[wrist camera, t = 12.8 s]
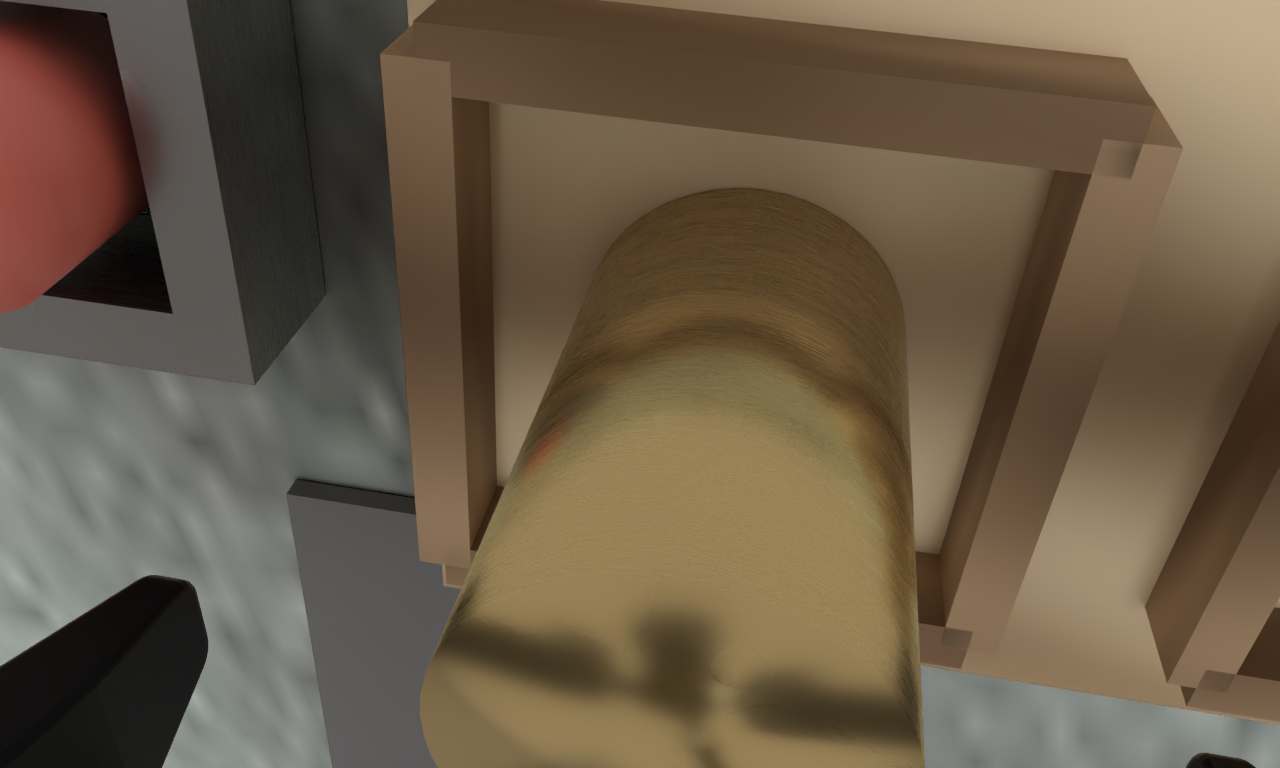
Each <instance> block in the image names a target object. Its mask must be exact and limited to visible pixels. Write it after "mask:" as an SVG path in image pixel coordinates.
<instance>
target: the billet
mask: <svg viewBox="0 0 1280 768" xmlns="http://www.w3.org/2000/svg"><path fill="white" fill-rule="evenodd" d="M420 718H421V724H422V729H423V735H424V738H425V741H426V743H427V746H428V749H429V752H430V754H431V757H432V758H433V760H434V762H435V764H436V766H437V768H925V765H924V742H923V718H922V695H921V672H920V649H919V625H918V602H917V579H916V556H915V532H914V509H913V486H912V463H911V439H910V416H909V393H908V370H907V346H906V323H905V316H904V310H903V304H902V301H901V297H900V294H899V291H898V288H897V285H896V283H895V281H894V279H893V277H892V275H891V273H890V271H889V269H888V267H887V266H886V265H885V263H884V262H883V260H882V259H881V257H880V256H879V254H878V253H877V251H876V250H875V249H874V248H873V247H872V246H871V245H870V244H869V243H868V242H867V241H866V240H865V238H864V237H863V236H862V235H860V234H859V233H858V232H857V231H856V230H854V229H853V228H852V227H851V226H850V225H848V224H847V223H846V222H844V221H843V220H841V219H840V218H838V217H837V216H835V215H833V214H832V213H830V212H829V211H827V210H825V209H823V208H821V207H818V206H816V205H814V204H812V203H810V202H808V201H805V200H802V199H799V198H796V197H793V196H790V195H787V194H782V193H777V192H772V191H767V190H761V189H748V188H729V189H715V190H709V191H703V192H697V193H694V194H690V195H687V196H684V197H680V198H677V199H674V200H672V201H670V202H668V203H665V204H663V205H661V206H659V207H657V208H655V209H653V210H652V211H650V212H649V213H647V214H645V215H644V216H642V217H641V218H639V219H638V220H637V221H635V222H634V223H633V224H632V225H631V226H629V227H628V228H627V229H626V230H625V231H624V232H623V233H622V234H621V235H620V236H619V237H618V238H617V239H616V241H615V242H614V243H613V244H612V245H611V247H610V248H609V250H608V251H607V253H606V254H605V256H604V257H603V259H602V260H601V262H600V264H599V267H598V269H597V271H596V273H595V275H594V278H593V280H592V282H591V285H590V287H589V289H588V292H587V294H586V297H585V299H584V301H583V304H582V306H581V308H580V311H579V313H578V315H577V318H576V320H575V322H574V325H573V327H572V329H571V332H570V334H569V337H568V339H567V341H566V344H565V346H564V348H563V351H562V353H561V355H560V358H559V360H558V362H557V365H556V367H555V369H554V372H553V374H552V377H551V379H550V381H549V384H548V386H547V388H546V391H545V393H544V395H543V398H542V400H541V402H540V405H539V407H538V409H537V412H536V414H535V417H534V419H533V421H532V424H531V426H530V428H529V431H528V433H527V435H526V438H525V440H524V442H523V445H522V447H521V449H520V452H519V454H518V457H517V459H516V461H515V464H514V466H513V468H512V471H511V473H510V475H509V478H508V480H507V482H506V485H505V487H504V490H503V492H502V494H501V497H500V499H499V501H498V504H497V506H496V508H495V511H494V513H493V515H492V518H491V520H490V522H489V525H488V527H487V530H486V532H485V534H484V537H483V539H482V541H481V544H480V546H479V548H478V551H477V553H476V555H475V558H474V560H473V562H472V565H471V567H470V570H469V572H468V574H467V577H466V579H465V581H464V584H463V586H462V588H461V591H460V593H459V595H458V598H457V600H456V602H455V605H454V607H453V610H452V612H451V614H450V617H449V619H448V621H447V624H446V626H445V628H444V631H443V633H442V635H441V638H440V640H439V642H438V645H437V647H436V650H435V652H434V654H433V657H432V659H431V661H430V664H429V666H428V668H427V671H426V673H425V676H424V681H423V685H422V689H421V694H420Z"/></svg>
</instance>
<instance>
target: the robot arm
mask: <svg viewBox="0 0 1280 768" xmlns="http://www.w3.org/2000/svg"><path fill="white" fill-rule="evenodd" d="M207 653H208V637H207V633H206V628H205V624H204V620H203V616H202V612H201V608H200V604H199V600H198V596H197V593H196V590H195V587H194V586H193V585H192V584H191V583H190V582H189V581H186V580H182V579H176V578H170V577H164V576H158V575H150V576H146V577H143V578H141V579H139V580H137V581H135V582H134V583H132V584H131V585H129V586H127V587H126V588H124V589H123V590H121V591H119V592H118V593H116V594H115V595H113V596H111V597H110V598H108V599H107V600H105V601H103V602H102V603H100V604H99V605H97V606H96V607H94V608H92V609H91V610H89V611H88V612H86V613H84V614H83V615H81V616H80V617H78V618H76V619H75V620H73V621H72V622H70V623H68V624H67V625H65V626H64V627H62V628H60V629H59V630H57V631H56V632H54V633H53V634H51V635H49V636H48V637H46V638H45V639H43V640H41V641H40V642H38V643H37V644H35V645H33V646H32V647H30V648H29V649H27V650H25V651H24V652H22V653H21V654H19V655H17V656H16V657H14V658H13V659H11V660H9V661H8V662H6V663H5V664H3V665H2V666H0V768H162V766H163V764H164V761H165V759H166V757H167V754H168V752H169V749H170V747H171V745H172V742H173V740H174V737H175V735H176V732H177V730H178V728H179V725H180V723H181V720H182V718H183V716H184V713H185V711H186V708H187V706H188V704H189V701H190V699H191V696H192V694H193V692H194V689H195V687H196V684H197V682H198V679H199V677H200V675H201V672H202V670H203V667H204V665H205V662H206V658H207ZM1186 768H1255V767H1254V766H1253V765H1252V764H1250V763H1249V762H1247V761H1245V760H1242V759H1239V758H1233V757H1227V756H1221V755H1215V754H1210V753H1199V754H1197V755H1195V756H1194V757H1192V759H1191V760H1190V761H1189V763H1188V764H1187V766H1186Z"/></svg>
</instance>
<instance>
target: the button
mask: <svg viewBox="0 0 1280 768" xmlns="http://www.w3.org/2000/svg"><path fill="white" fill-rule="evenodd" d="M147 207H149V203H148V198H147V194H146V189H145V184H144V180H143V175H142V171H141V166H140V162H139V157H138V153H137V148H136V144H135V139H134V134H133V130H132V125H131V121H130V116H129V112H128V107H127V103H126V98H125V94H124V89H123V84H122V80H121V75H120V71H119V66H118V62H117V57H116V53H115V48H114V44H113V39H112V34H111V30H110V25H109V21H108V19H106V18H105V17H103V16H102V15H101V14H99V13H97V12H93V11H85V10H76V9H68V8H59V7H51V6H42V5H33V4H25V3H16V2H8V1H0V314H1V313H6V312H12V311H14V310H17V309H20V308H23V307H25V306H27V305H28V304H30V303H32V302H33V301H35V300H36V299H37V298H39V297H40V296H41V295H42V294H43V293H45V292H46V291H47V290H48V289H49V288H51V287H52V286H53V285H54V284H56V283H57V282H58V281H59V280H60V279H62V278H63V277H64V276H65V275H66V274H68V273H69V272H70V271H71V270H72V269H74V268H75V267H76V266H77V265H79V264H80V263H81V262H82V261H83V260H85V259H86V258H87V257H88V256H89V255H91V254H92V253H93V252H94V251H95V250H97V249H98V248H99V247H100V246H102V245H103V244H104V243H105V242H106V241H108V240H109V239H110V238H111V237H112V236H114V235H115V234H116V233H117V232H118V231H120V230H121V229H122V228H123V227H125V226H126V225H127V224H128V223H129V222H131V221H132V220H133V219H134V218H135V217H137V216H138V215H139V214H140V213H141V212H143V211H144V210H145V209H146V208H147Z"/></svg>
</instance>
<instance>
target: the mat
mask: <svg viewBox="0 0 1280 768" xmlns="http://www.w3.org/2000/svg"><path fill="white" fill-rule="evenodd" d="M287 500H288V506H289V512H290V518H291V524H292V530H293V535H294V541H295V547H296V553H297V559H298V565H299V571H300V577H301V583H302V589H303V595H304V601H305V607H306V613H307V619H308V625H309V631H310V637H311V643H312V648H313V654H314V660H315V666H316V672H317V678H318V684H319V690H320V696H321V702H322V708H323V714H324V720H325V726H326V732H327V738H328V744H329V750H330V756H331V761H332V767H333V768H437V766H436V764H435V762H434V760H433V758H432V757H431V754H430V752H429V749H428V746H427V743H426V741H425V738H424V735H423V729H422V724H421V718H420V694H421V689H422V685H423V681H424V676H425V673H426V671H427V668H428V666H429V664H430V661H431V659H432V657H433V654H434V652H435V650H436V647H437V645H438V642H439V640H440V638H441V635H442V633H443V631H444V628H445V626H446V624H447V621H448V619H449V617H450V614H451V612H452V610H453V607H454V605H455V602H456V600H457V598H458V595H459V593H460V591H461V589H459V588H453V587H447V586H443V572H442V564H435V563H429V562H423V561H420V558H419V545H418V533H417V520H416V507H415V498H409V497H402V496H396V495H390V494H383V493H377V492H371V491H364V490H358V489H352V488H345V487H339V486H333V485H327V484H320V483H314V482H308V481H301V480H295V482H294V483H293V485H292V487H291V488H290V490H289V491H288V493H287Z"/></svg>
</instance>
